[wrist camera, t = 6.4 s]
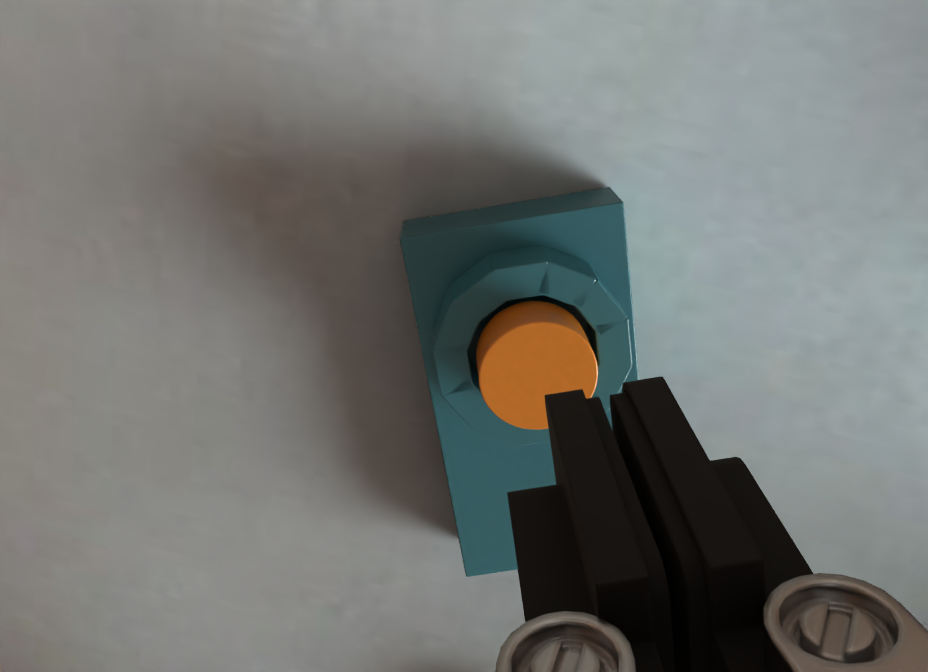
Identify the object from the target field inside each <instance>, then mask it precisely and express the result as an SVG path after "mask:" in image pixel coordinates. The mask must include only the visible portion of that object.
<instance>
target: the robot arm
mask: <svg viewBox="0 0 928 672" xmlns="http://www.w3.org/2000/svg"><path fill="white" fill-rule="evenodd" d="M545 406H546V414H547V421H548V428H549V436H550V443H551V450H552V458H553V465H554V472H555V480H556V485H550V486H544V487H537V488H531V489H524V490H518V491H511V492H507V496H508V503H509V510H510V517H511V524H512V531H513V538H514V545H515V552H516V559H517V566H518V573H519V581H520V588H521V595H522V602H523V609H524V616H525V623H524V624H523V625H521V626H520V627H519V628H517V629H516V630H515V631H513V632H512V633H511V634H510V636H509V637H508V638H507V640H506V641H505V642H504V644H503V645H502V646H501V649H500V652H499V656H498V659H497V662H496V671H495V672H928V631H927V630H926V629H925V628H924V627H923V626H922V625H921V624H920V623H919V622H918V621H917V620H916V618H915V617H914V616H913V615H912V614H911V613H910V612H909V611H908V610H907V609H906V608H905V607H904V606H903V605H902V604H901V603H900V602H898V601H897V600H896V599H894V598H893V597H892V596H891V595H889V594H888V593H887V592H886V591H884V590H882V589H880V588H878V587H876V586H874V585H872V584H870V583H868V582H866V581H864V580H860V579H856V578H852V577H848V576H844V575H837V574H822V573H818V574H813V572H812V571H811V569H810V567H809V566H808V564H807V563H806V561H805V559H804V558H803V556H802V555H801V553H800V551H799V550H798V548H797V547H796V545H795V543H794V542H793V540H792V539H791V537H790V535H789V534H788V532H787V531H786V529H785V527H784V526H783V524H782V523H781V521H780V519H779V518H778V516H777V515H776V513H775V511H774V510H773V508H772V507H771V505H770V503H769V502H768V500H767V499H766V497H765V495H764V494H763V492H762V491H761V489H760V487H759V486H758V484H757V483H756V481H755V479H754V478H753V476H752V475H751V473H750V471H749V470H748V468H747V467H746V465H745V464H744V462H743V461H742V460H741V459H740V458H738V457H732V458H726V459H719V460H713V461H710V460H709V459H708V457H707V455H706V453H705V451H704V450H703V448H702V446H701V444H700V442H699V441H698V439H697V437H696V435H695V433H694V432H693V430H692V428H691V426H690V425H689V423H688V421H687V419H686V417H685V416H684V414H683V412H682V410H681V408H680V407H679V405H678V403H677V401H676V399H675V398H674V396H673V394H672V392H671V390H670V389H669V387H668V385H667V383H666V381H665V380H664V378H663V377H655V378H649V379H643V380H636V381H630V382H623V385H622V393H618V394H612V395H610V410H611V420H612V428H611V426H610V423H609V421H608V418H607V415H606V413H605V410H604V408H603V405H602V402H601V400H600V398H599V397H592V398H586V397H585V394H584V391H583V389H579V390H573V391H566V392H560V393H554V394H547V395H545ZM612 430H613V431H612Z"/></svg>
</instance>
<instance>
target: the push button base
mask: <svg viewBox="0 0 928 672" xmlns="http://www.w3.org/2000/svg"><path fill="white" fill-rule="evenodd" d="M400 242H401V247H402V252H403V257H404V262H405V268H406V273H407V278H408V283H409V288H410V293H411V298H412V303H413V308H414V313H415V319H416V324H417V329H418V334H419V339H420V344H421V349H422V354H423V359H424V364H425V369H426V375H427V380H428V385H429V390H430V395H431V400H432V405H433V410H434V415H435V420H436V426H437V431H438V436H439V441H440V446H441V451H442V456H443V461H444V466H445V471H446V477H447V482H448V487H449V492H450V497H451V502H452V507H453V512H454V517H455V522H456V528H457V533H458V538H459V543H460V548H461V553H462V558H463V563H464V568H465V573H466V576H467V577H469V576H476V575H483V574H489V573H496V572H502V571H509V570H516V569H518V566H517V559H516V552H515V545H514V538H513V531H512V524H511V517H510V510H509V503H508V496H507V492H511V491H518V490H524V489H531V488H537V487H544V486H550V485H556V480H555V472H554V465H553V458H552V450H551V443H550V436H549V428H547V429H539V430H535V429H524V428H520V427H516V426H514V425H511V424H509V423H507V422H505V421H503V420H502V419H500V418H499V417H498V416H496V415H495V414H494V413H493V412H492V411H491V410H490V408H489V407H488V406H487V404H486V402H485V401H484V399H483V396H482V394H481V391H480V387H479V378H478V369H477V360H476V349H477V343H478V340H479V337H480V335H481V333H482V331H483V329H484V327H485V326H486V324H487V323H488V322H489V321H490V320H491V319H492V318H493V317H494V316H495V315H496V314H497V313H499V312H500V311H502V310H503V309H505V308H507V307H509V306H511V305H514V304H517V303H521V302H526V301H543V302H549V303H552V304H555V305H558V306H560V307H562V308H564V309H565V310H567V311H568V312H570V313H571V314H572V315H573V316H574V317H575V318H576V319H577V320H578V321H579V323H580V324H581V326H582V328H583V330H584V332H585V334H586V336H587V338H588V341H589V343H590V345H591V347H592V350H593V352H594V354H595V357H596V360H597V366H598V379H597V384H596V388H595V391H594V393H593V396H592V397H599V398H600V400H601V402H602V405H603V408H604V410H605V413H606V415H607V418H608V421H609V423H610V426H611V428H612V420H611V410H610V395H612V394H618V393H622V385H623V382H630V381H636V380H639V374H638V363H637V351H636V340H635V329H634V317H633V306H632V295H631V283H630V272H629V261H628V249H627V238H626V227H625V215H624V204H623V202H622V200H621V199H620V198H619V197H618V196H617V195H616V194H615V193H614V192H613V190H612V189H611V188H610V187H606V188H600V189H594V190H588V191H582V192H576V193H570V194H564V195H558V196H552V197H546V198H540V199H534V200H528V201H522V202H516V203H509V204H503V205H497V206H491V207H485V208H479V209H473V210H467V211H461V212H455V213H449V214H443V215H437V216H431V217H425V218H419V219H413V220H407V221H403V223H402V230H401V237H400ZM592 397H591V398H592ZM612 431H613V430H612Z"/></svg>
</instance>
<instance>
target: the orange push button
mask: <svg viewBox="0 0 928 672" xmlns="http://www.w3.org/2000/svg"><path fill="white" fill-rule="evenodd" d="M476 360H477V369H478V378H479V387H480V391H481V394H482V396H483V399H484V401H485V402H486V404H487V406H488V407H489V408H490V410H491V411H492V412H493V413H494V414H495V415H496V416H498V417H499V418H500V419H502V420H503V421H505V422H507V423H509V424H511V425H514V426H516V427H520V428H524V429H535V430H539V429H547V428H548V421H547V414H546V406H545V395H547V394H554V393H560V392H566V391H573V390H579V389H583V391H584V394H585V397H586V398H591V397H592V396H593V393H594V391H595V388H596V384H597V379H598V366H597V360H596V357H595V354H594V352H593V350H592V347H591V345H590V343H589V341H588V338H587V336H586V334H585V332H584V330H583V328H582V326H581V324H580V323H579V321H578V320H577V319H576V318H575V317H574V316H573V315H572V314H571V313H570V312H568V311H567V310H565V309H564V308H562V307H560V306H558V305H555V304H552V303H549V302H543V301H526V302H521V303H517V304H514V305H511V306H509V307H507V308H505V309H503V310H502V311H500V312H499V313H497V314H496V315H495V316H494V317H493V318H492V319H491V320H490V321H489V322H488V323H487V324H486V326H485V327H484V329H483V331H482V333H481V335H480V337H479V340H478V343H477V349H476Z"/></svg>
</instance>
